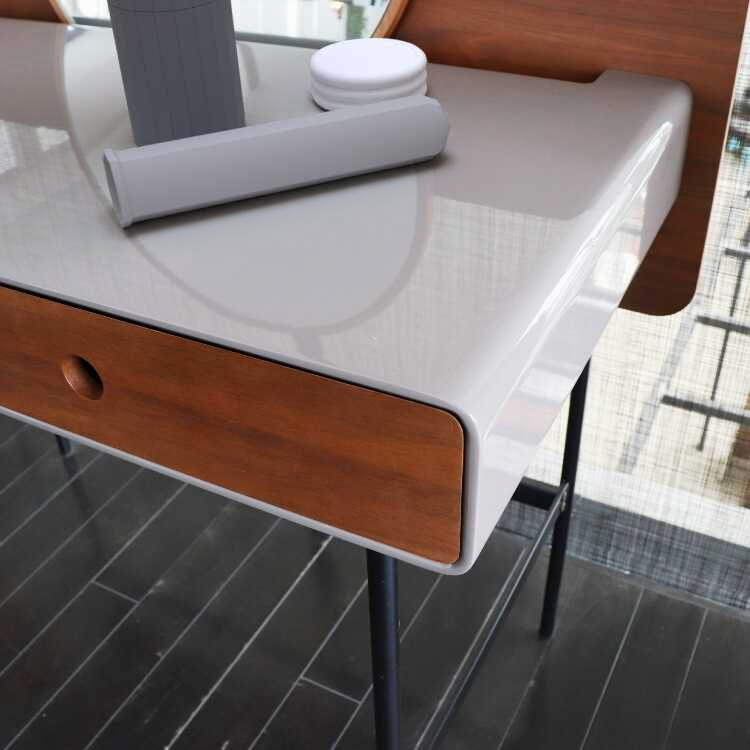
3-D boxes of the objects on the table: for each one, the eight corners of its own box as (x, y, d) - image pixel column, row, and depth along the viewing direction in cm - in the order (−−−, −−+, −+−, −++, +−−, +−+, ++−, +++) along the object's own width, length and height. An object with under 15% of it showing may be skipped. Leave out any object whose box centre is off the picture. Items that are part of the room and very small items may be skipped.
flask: (128, 160, 77) (90, -29, 69) (140, 115, 84) (107, -60, 76) (245, 151, 78) (221, -37, 69) (246, 108, 85) (225, -68, 77)
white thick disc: (441, 109, 83) (441, 68, 81) (323, 124, 81) (320, 82, 79) (410, 69, 91) (409, 30, 89) (302, 82, 89) (299, 43, 87)
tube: (426, 87, 76) (98, 148, 69) (456, 86, 72) (107, 151, 64) (435, 157, 78) (116, 224, 71) (465, 161, 73) (127, 233, 66)
